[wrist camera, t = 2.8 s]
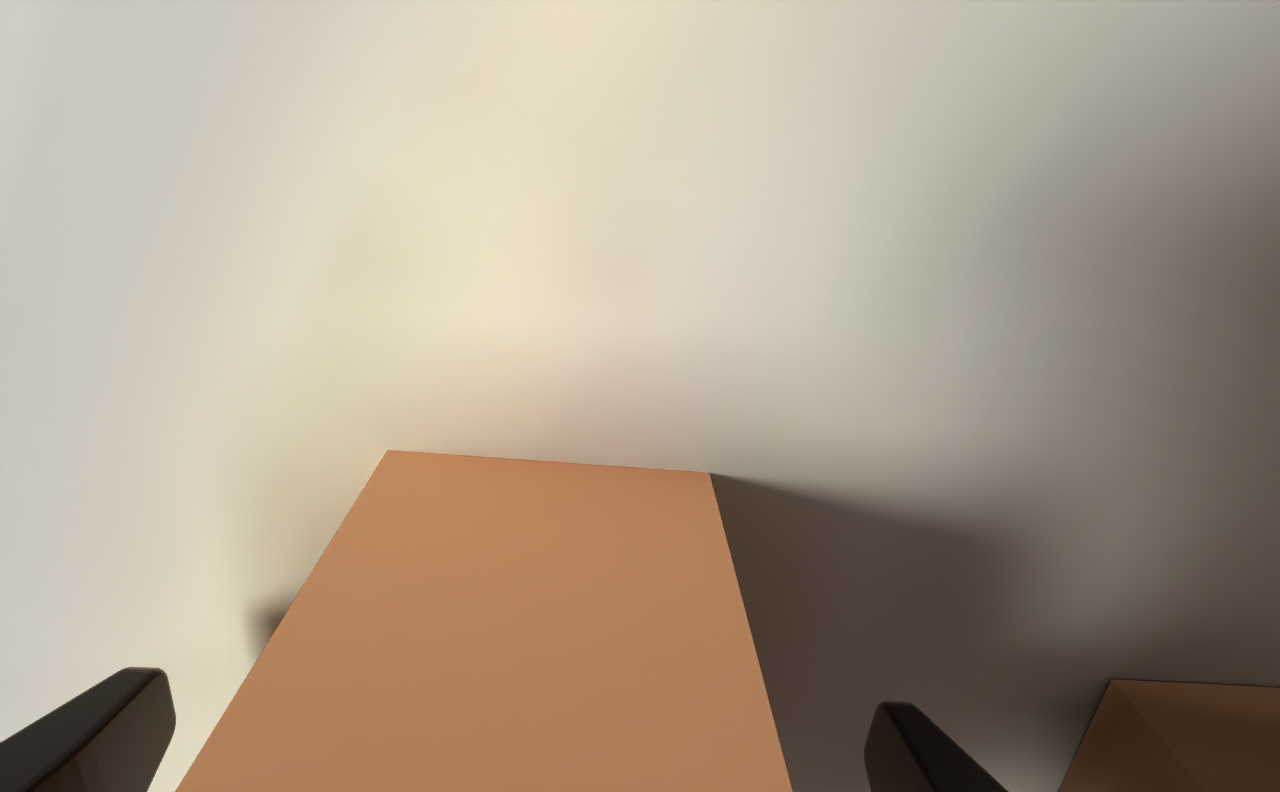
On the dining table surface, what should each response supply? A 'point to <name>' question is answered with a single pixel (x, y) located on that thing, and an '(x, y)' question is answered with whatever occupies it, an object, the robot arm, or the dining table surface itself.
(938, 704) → the dining table surface
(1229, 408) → the dining table surface
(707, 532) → the block
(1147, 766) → the notched board
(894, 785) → the robot arm
